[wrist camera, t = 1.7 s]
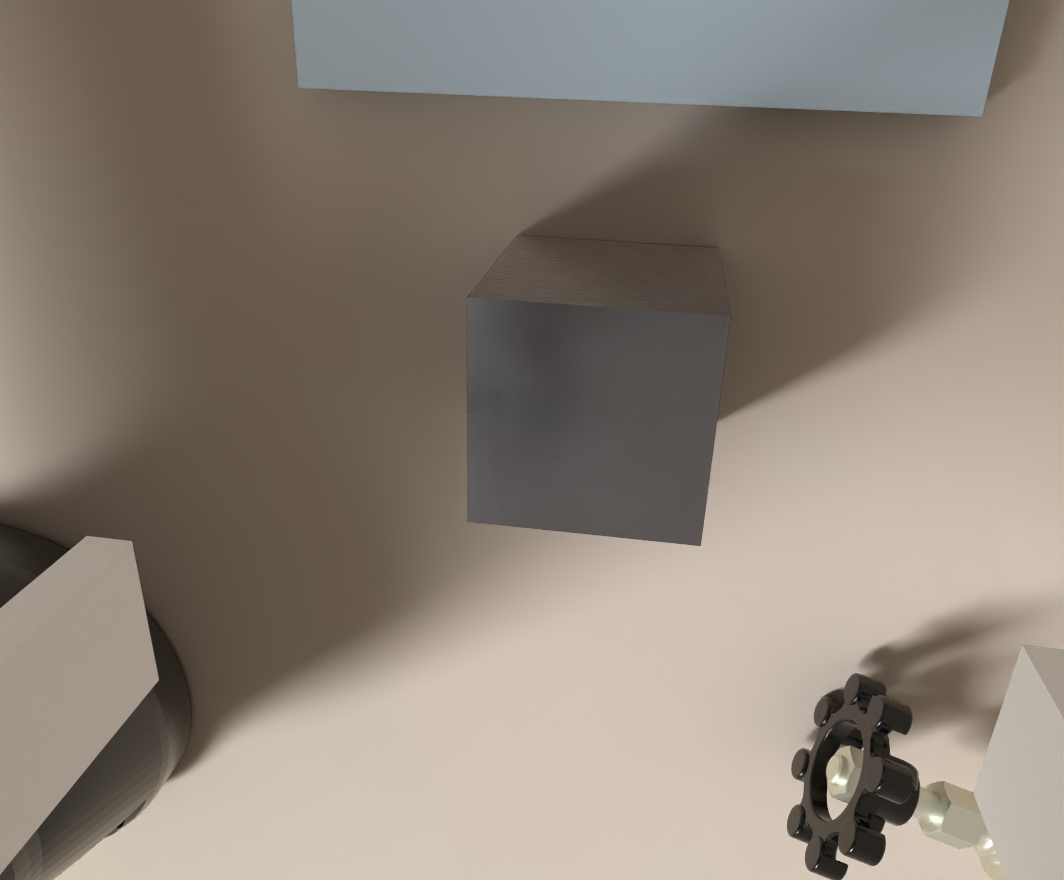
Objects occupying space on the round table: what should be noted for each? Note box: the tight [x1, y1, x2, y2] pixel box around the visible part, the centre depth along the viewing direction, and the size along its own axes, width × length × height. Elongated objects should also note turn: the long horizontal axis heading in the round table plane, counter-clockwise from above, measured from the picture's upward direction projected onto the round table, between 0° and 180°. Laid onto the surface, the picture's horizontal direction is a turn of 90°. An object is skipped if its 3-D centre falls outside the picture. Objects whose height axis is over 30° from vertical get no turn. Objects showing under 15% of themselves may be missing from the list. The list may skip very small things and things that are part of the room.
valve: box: [787, 673, 1006, 880], centre depth 29 cm, size 7×7×12 cm
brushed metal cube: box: [467, 235, 731, 546], centre depth 24 cm, size 6×6×7 cm
